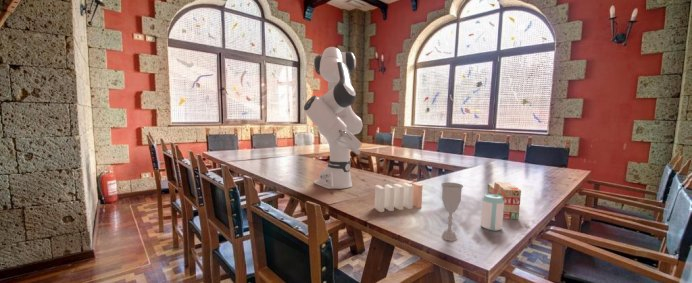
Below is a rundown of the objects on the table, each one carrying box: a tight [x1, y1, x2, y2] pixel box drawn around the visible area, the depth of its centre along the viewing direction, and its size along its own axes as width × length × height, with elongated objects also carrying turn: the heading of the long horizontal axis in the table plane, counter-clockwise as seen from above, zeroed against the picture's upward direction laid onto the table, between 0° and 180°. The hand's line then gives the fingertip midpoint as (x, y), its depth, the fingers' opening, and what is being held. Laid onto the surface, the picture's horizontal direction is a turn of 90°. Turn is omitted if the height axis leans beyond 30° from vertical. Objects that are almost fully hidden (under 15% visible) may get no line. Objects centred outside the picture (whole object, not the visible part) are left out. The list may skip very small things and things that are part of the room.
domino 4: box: [402, 182, 414, 210], centre depth 130 cm, size 2×6×10 cm, turn 19°
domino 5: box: [411, 182, 423, 209], centre depth 131 cm, size 2×6×10 cm, turn 19°
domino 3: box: [393, 183, 404, 211], centre depth 128 cm, size 2×6×10 cm, turn 19°
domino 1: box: [374, 184, 385, 213], centre depth 125 cm, size 2×6×10 cm, turn 19°
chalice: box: [440, 182, 464, 242], centre depth 98 cm, size 7×7×18 cm
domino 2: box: [384, 183, 395, 212], centre depth 127 cm, size 2×6×10 cm, turn 19°
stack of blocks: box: [486, 181, 522, 221], centre depth 127 cm, size 21×6×12 cm, turn 170°
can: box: [480, 193, 504, 232], centre depth 108 cm, size 7×7×12 cm
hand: (358, 153), depth 124 cm, fingers closed
